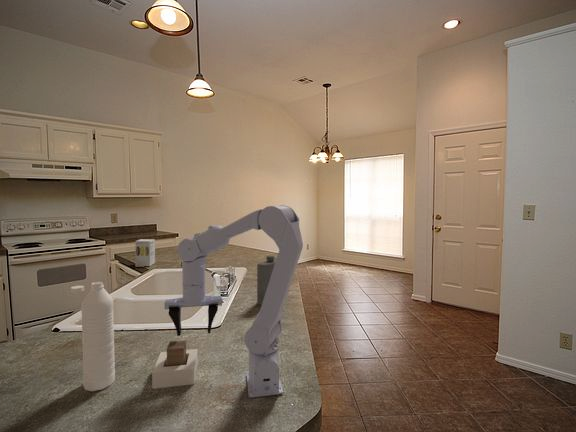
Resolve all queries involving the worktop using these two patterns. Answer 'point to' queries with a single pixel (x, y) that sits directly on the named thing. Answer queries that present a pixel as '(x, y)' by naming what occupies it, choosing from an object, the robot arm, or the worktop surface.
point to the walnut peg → (176, 353)
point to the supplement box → (144, 252)
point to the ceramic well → (175, 371)
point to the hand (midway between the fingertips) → (194, 332)
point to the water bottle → (97, 337)
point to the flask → (264, 277)
